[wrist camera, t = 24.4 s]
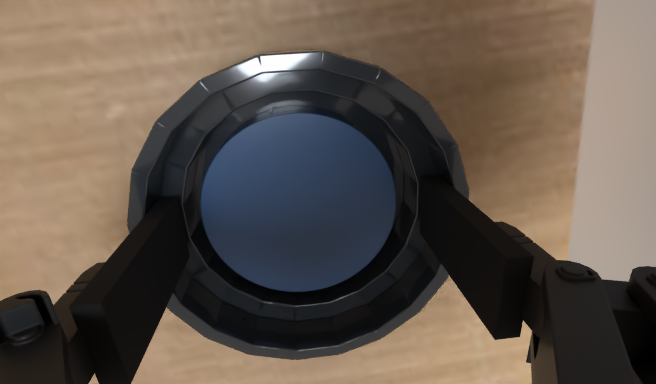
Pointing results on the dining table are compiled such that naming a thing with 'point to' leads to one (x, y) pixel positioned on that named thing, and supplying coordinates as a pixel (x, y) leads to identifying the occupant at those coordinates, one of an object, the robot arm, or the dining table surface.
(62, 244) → the dining table surface
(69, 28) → the dining table surface
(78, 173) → the dining table surface
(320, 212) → the jar lid
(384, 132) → the bowl
